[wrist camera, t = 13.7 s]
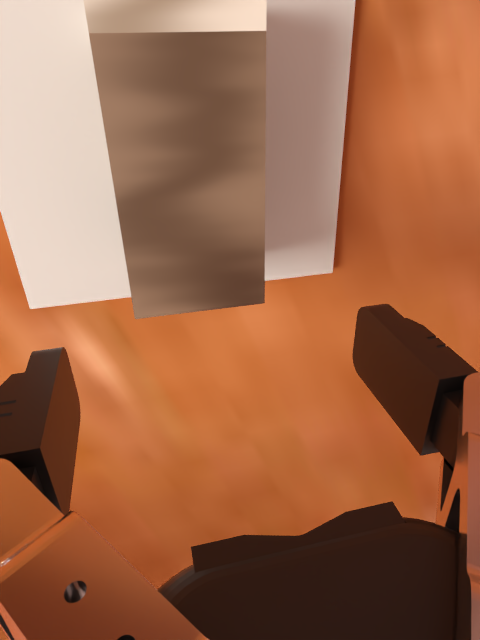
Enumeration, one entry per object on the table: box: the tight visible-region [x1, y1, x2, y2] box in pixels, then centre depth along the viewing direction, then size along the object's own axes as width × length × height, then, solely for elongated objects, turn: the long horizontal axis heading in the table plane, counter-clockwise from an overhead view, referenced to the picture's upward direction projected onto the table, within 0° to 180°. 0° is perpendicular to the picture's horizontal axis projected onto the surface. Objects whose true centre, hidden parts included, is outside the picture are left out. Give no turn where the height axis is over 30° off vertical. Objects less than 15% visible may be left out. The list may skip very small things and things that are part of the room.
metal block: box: [83, 0, 267, 319], centre depth 17 cm, size 5×5×10 cm
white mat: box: [0, 0, 355, 309], centre depth 19 cm, size 15×13×1 cm
